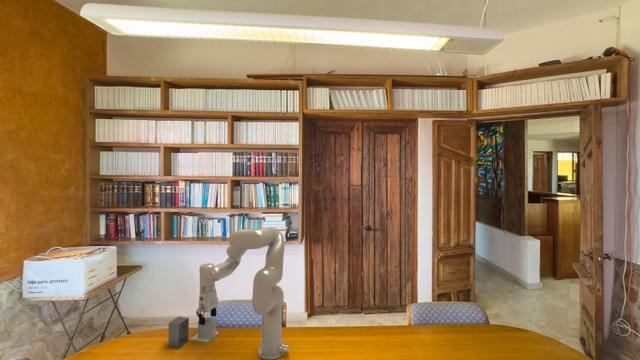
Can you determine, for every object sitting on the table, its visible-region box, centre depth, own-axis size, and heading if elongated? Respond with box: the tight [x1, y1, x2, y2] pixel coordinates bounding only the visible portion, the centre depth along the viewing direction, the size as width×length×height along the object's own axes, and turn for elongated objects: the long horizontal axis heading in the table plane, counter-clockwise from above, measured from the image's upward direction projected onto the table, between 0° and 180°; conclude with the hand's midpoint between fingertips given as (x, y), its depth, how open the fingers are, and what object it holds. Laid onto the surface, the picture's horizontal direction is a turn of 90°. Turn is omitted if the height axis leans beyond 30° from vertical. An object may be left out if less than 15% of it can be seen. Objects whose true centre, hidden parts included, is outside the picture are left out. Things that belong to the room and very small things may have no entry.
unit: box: [167, 316, 190, 350], centre depth 145 cm, size 6×7×12 cm
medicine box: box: [197, 317, 217, 339], centre depth 153 cm, size 8×4×9 cm, turn 79°
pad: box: [189, 331, 220, 343], centre depth 153 cm, size 10×10×1 cm
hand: (208, 320), depth 152 cm, fingers open, 9 cm apart
